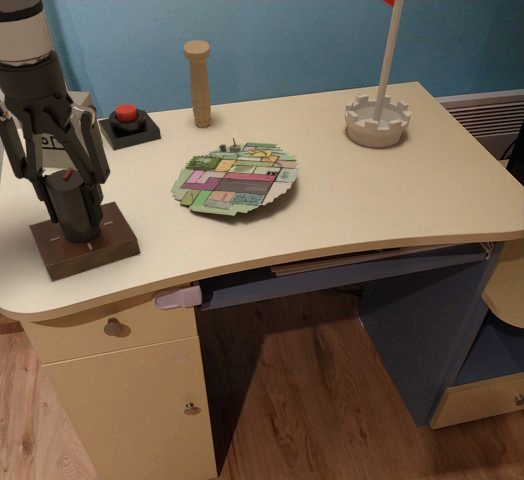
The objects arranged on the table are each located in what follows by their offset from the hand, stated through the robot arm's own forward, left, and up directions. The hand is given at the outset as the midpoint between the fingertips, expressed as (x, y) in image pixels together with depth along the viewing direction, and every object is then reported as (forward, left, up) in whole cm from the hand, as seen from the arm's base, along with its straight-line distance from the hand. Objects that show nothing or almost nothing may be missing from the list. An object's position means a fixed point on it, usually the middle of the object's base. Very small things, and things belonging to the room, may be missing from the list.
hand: (78, 219), depth 76 cm
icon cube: (-29, +5, -6) cm, 30 cm away
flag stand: (-8, +63, -6) cm, 64 cm away
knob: (0, 0, -2) cm, 2 cm away
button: (-31, +18, -2) cm, 36 cm away
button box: (-31, +18, -5) cm, 36 cm away
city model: (-5, +29, -6) cm, 30 cm away
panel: (0, 0, -5) cm, 5 cm away
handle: (-28, +33, -6) cm, 44 cm away
